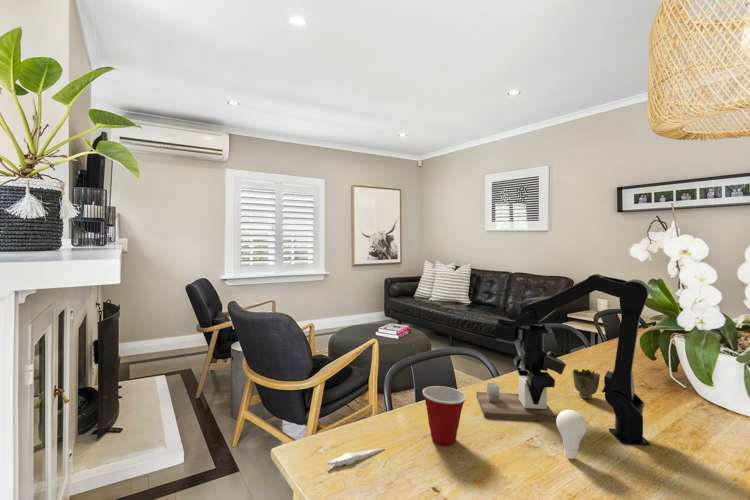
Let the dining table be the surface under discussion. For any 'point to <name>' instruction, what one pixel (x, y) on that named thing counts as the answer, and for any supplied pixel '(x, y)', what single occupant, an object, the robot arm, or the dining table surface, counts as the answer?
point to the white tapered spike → (352, 457)
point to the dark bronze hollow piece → (586, 383)
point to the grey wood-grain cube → (492, 392)
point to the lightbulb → (571, 431)
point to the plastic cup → (443, 413)
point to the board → (512, 408)
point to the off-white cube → (526, 397)
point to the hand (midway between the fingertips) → (532, 399)
